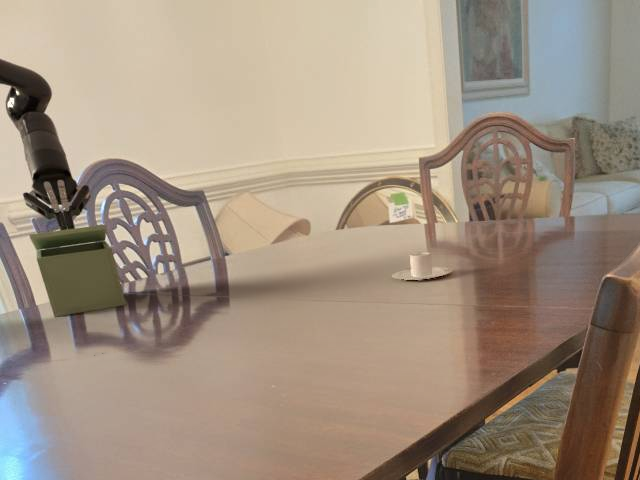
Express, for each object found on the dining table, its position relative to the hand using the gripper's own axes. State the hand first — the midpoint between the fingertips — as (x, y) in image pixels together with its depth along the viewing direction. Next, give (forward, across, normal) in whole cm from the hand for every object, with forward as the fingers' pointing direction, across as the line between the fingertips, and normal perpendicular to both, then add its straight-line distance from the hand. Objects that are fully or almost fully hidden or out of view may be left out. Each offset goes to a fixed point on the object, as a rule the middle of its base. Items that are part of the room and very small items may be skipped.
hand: (68, 231), depth 150 cm
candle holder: (+31, -62, +10) cm, 70 cm away
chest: (+8, 0, -12) cm, 15 cm away
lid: (0, 0, -3) cm, 3 cm away
